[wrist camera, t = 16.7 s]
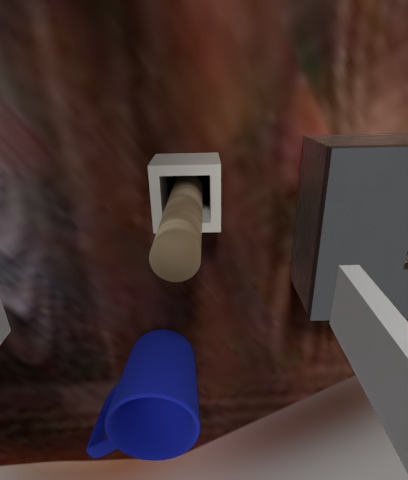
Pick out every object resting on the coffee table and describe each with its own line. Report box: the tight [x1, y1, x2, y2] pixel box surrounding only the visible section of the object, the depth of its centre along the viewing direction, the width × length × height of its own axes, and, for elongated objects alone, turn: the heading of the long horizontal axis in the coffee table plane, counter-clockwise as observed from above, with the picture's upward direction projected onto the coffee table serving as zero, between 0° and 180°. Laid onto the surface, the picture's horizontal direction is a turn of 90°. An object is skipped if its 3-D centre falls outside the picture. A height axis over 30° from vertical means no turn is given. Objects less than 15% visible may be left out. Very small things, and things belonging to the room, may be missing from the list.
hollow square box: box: [148, 153, 221, 234], centre depth 29 cm, size 5×5×5 cm
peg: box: [149, 176, 203, 282], centre depth 24 cm, size 3×3×15 cm
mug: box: [86, 329, 200, 460], centre depth 35 cm, size 8×12×10 cm
